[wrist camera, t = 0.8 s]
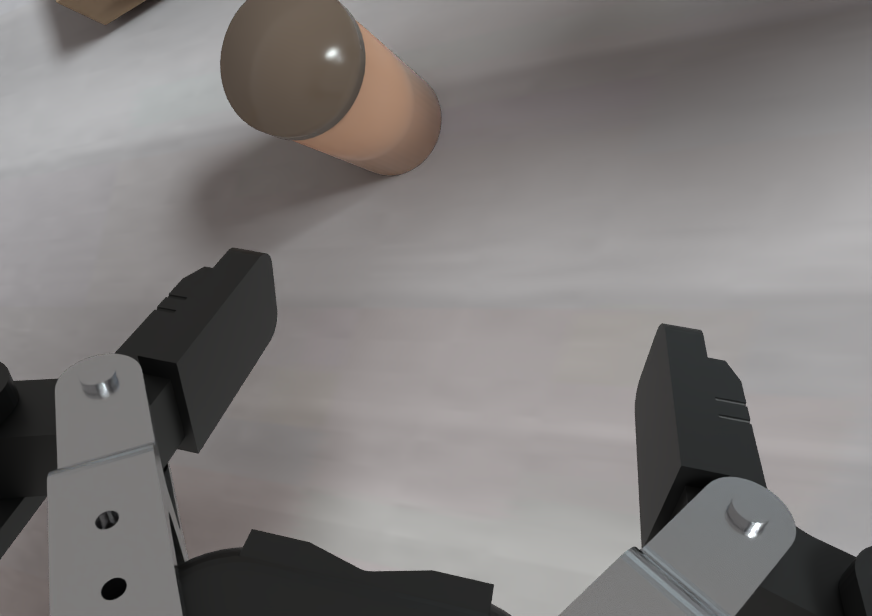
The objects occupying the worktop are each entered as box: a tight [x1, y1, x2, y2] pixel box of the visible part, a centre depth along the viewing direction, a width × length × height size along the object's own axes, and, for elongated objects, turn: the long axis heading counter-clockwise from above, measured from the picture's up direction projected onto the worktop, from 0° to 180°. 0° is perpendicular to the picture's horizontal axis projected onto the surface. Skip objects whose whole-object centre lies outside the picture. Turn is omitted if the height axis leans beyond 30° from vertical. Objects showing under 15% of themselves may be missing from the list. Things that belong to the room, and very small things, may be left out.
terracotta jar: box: [220, 0, 441, 176], centre depth 28 cm, size 5×5×10 cm
